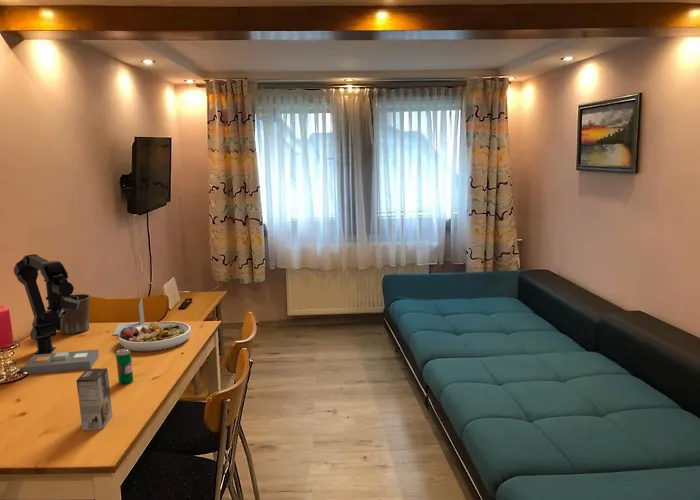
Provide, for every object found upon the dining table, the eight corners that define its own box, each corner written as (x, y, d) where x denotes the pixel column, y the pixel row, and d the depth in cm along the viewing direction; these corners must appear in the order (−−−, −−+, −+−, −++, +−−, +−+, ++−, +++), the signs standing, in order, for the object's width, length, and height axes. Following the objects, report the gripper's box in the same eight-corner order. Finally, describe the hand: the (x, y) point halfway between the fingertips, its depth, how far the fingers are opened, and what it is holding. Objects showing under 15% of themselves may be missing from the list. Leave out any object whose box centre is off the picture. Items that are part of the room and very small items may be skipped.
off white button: (76, 360, 228) (76, 353, 227) (88, 359, 229) (87, 352, 228) (73, 364, 223) (73, 357, 223) (85, 363, 224) (85, 356, 224)
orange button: (38, 364, 225) (38, 357, 224) (50, 363, 226) (50, 356, 225) (35, 368, 221) (34, 361, 220) (47, 367, 222) (46, 360, 221)
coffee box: (92, 417, 179) (86, 368, 176) (113, 415, 179) (108, 367, 177) (81, 430, 170) (75, 379, 167) (103, 429, 170) (97, 378, 168)
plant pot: (64, 326, 277) (60, 294, 274) (98, 324, 278) (95, 292, 276) (50, 337, 261) (46, 303, 258) (87, 335, 262) (83, 301, 260)
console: (35, 362, 229) (34, 354, 229) (98, 356, 234) (98, 349, 233) (23, 374, 216) (22, 367, 215) (90, 368, 220) (89, 361, 220)
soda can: (128, 385, 203) (125, 353, 201) (115, 384, 204) (112, 352, 202) (136, 379, 208) (133, 348, 206) (123, 378, 209) (120, 347, 207)
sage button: (57, 360, 226) (56, 353, 226) (69, 359, 227) (68, 351, 226) (54, 364, 222) (53, 356, 221) (66, 363, 223) (65, 355, 222)
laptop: (117, 325, 278) (115, 299, 275) (144, 322, 281) (142, 297, 279) (112, 336, 260) (109, 308, 258) (141, 333, 264) (139, 306, 261)
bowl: (189, 328, 269) (188, 312, 268) (193, 348, 241) (191, 330, 240) (121, 336, 260) (120, 320, 259) (117, 358, 232) (115, 339, 231)
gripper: (70, 297, 220) (74, 335, 223) (82, 286, 238) (86, 322, 241) (39, 299, 218) (44, 338, 220) (53, 288, 236) (58, 324, 238)
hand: (59, 330), depth 230 cm, fingers closed
